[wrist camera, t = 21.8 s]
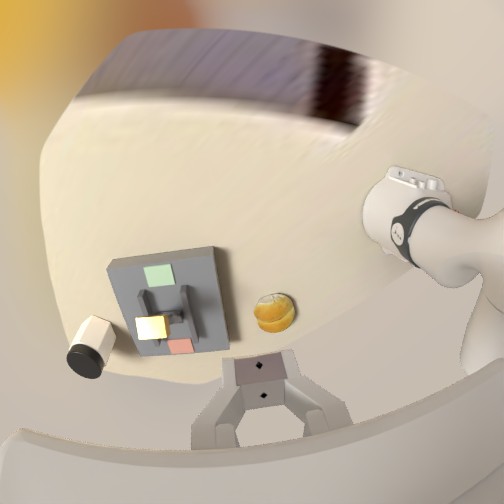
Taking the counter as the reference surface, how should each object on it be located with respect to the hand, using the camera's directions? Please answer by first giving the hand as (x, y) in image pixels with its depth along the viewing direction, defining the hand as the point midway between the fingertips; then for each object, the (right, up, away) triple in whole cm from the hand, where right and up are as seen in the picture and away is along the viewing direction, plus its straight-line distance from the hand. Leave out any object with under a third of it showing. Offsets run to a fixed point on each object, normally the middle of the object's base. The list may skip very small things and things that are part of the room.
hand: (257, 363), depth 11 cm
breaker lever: (-16, -8, +40) cm, 44 cm away
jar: (-36, -13, +45) cm, 59 cm away
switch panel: (-16, -5, +44) cm, 47 cm away
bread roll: (+4, -7, +48) cm, 48 cm away
